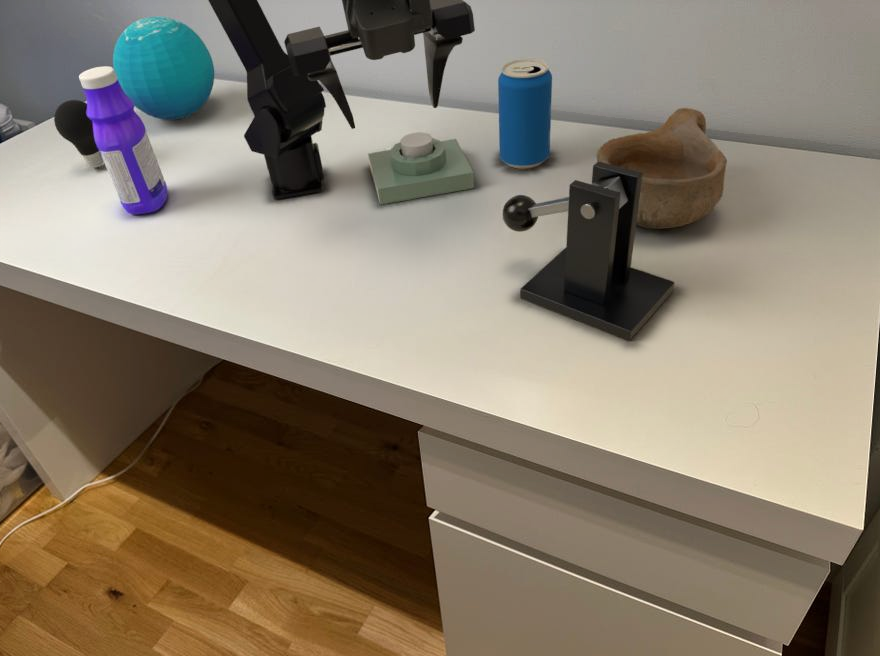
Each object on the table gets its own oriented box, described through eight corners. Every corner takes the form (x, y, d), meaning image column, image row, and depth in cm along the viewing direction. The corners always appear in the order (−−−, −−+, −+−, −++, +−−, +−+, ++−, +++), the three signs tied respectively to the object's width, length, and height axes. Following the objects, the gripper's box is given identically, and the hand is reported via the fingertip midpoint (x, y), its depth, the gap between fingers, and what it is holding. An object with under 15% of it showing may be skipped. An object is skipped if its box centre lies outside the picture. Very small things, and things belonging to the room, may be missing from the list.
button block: (380, 204, 87) (375, 175, 84) (370, 168, 95) (365, 140, 92) (474, 188, 88) (472, 158, 85) (457, 153, 95) (455, 125, 93)
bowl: (597, 152, 89) (628, 76, 81) (705, 190, 87) (747, 116, 79) (567, 224, 77) (600, 143, 69) (691, 270, 75) (738, 192, 68)
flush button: (404, 162, 87) (403, 148, 86) (399, 148, 90) (398, 135, 89) (436, 156, 87) (434, 143, 86) (430, 142, 90) (428, 130, 89)
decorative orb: (243, 100, 117) (217, 3, 107) (190, 139, 108) (156, 37, 97) (171, 94, 122) (140, 2, 112) (114, 132, 113) (75, 34, 103)
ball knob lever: (503, 240, 71) (490, 208, 70) (523, 223, 73) (510, 192, 72) (614, 221, 61) (601, 184, 60) (634, 203, 63) (621, 166, 62)
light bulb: (68, 175, 102) (37, 109, 96) (96, 157, 106) (67, 92, 99) (99, 179, 100) (69, 112, 94) (126, 160, 104) (99, 94, 97)
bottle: (133, 193, 96) (79, 64, 84) (174, 187, 96) (126, 58, 84) (121, 220, 91) (62, 87, 79) (164, 215, 91) (111, 80, 79)
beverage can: (547, 171, 89) (550, 77, 81) (497, 171, 90) (494, 78, 82) (550, 148, 94) (554, 56, 86) (502, 148, 95) (501, 57, 87)
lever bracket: (519, 298, 71) (519, 183, 62) (566, 255, 75) (573, 142, 67) (629, 341, 64) (646, 220, 56) (673, 291, 69) (695, 172, 60)
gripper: (271, -5, 59) (318, 166, 69) (481, -56, 61) (498, 120, 70) (265, -27, 68) (307, 128, 78) (449, -70, 69) (468, 88, 79)
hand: (394, 117), depth 76 cm, fingers open, 9 cm apart
